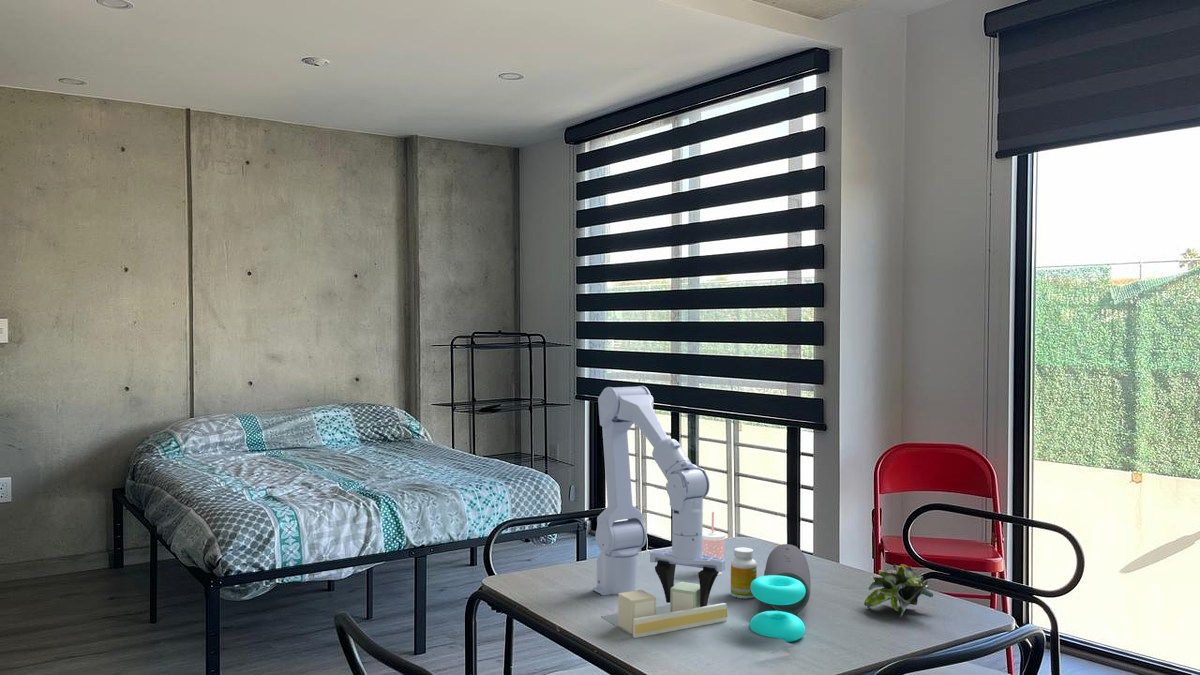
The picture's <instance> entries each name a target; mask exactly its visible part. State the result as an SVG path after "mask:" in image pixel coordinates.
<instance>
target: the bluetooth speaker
mask: <svg viewBox="0 0 1200 675" xmlns="http://www.w3.org/2000/svg"><path fill="white" fill-rule="evenodd" d="M768 575H779V576H787V577H791V578H794V579H797V580H799V581H800V582H802V583H803V585H804V586H805V589H806V592H805V596H804V597H803V598H802V599H801V600H800V601H799V602H797V603H794V604H790V605H773V604H769V605H770V606H771V608H773V609H774V611H783V612H787V613H791V614H793V615H796V614H797V613H799V612H802V610H803V609H804V608H806V606H807V605H808V603H809V600H810V597H811V573H810V568H809V563H808V559H807V557H806V556H805V554H804V552H803V551H802V550H801V549H800V548H798V546H796V545H793V544H788V543H784V544H779V545H777V546H775V547H774V548H773V549H772V550H771V551H770V553H769V555H768V557H767V560H766V564H765V569H764V574H763V576H768Z"/></svg>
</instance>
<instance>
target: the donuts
mask: <svg viewBox="0 0 1200 675" xmlns="http://www.w3.org/2000/svg"><path fill="white" fill-rule="evenodd" d="M750 589H751V592H752V594H753V596H754V598H755V599H757V600H759V601H761V602H762V603H764V604H769V605H770V604H773V605H790V604H794V603H797V602H799V601H800V600H801V599H802V598H803V597H804V596H805V592H806V589H805V586H804V585H803V583H802V582H800V581H799V580H797V579H794V578H791V577H787V576H779V575H768V576H764V575H761V576H758V577H756V579H754V580H753V581H752V583H751V586H750ZM749 628H750V629H751V631H752V632H754V633H756V634H757V635H761V636H764V637H770V638H775V639H780V640H782V641H784V642H786V643H790V642H796V641H798V640H800V639H802V638H803V636H804V635H805V632H806V626H805V623H804V622H803V620H802V619H801V618H800V617H798V616H797V615H796V614H791V613H787V612H783V611H776V610H765V611H762V612H760V613H759V612H758V613H757V614H755V615H754V616H753V617H752V618H751V620H750V622H749Z"/></svg>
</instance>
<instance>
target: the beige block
mask: <svg viewBox="0 0 1200 675" xmlns="http://www.w3.org/2000/svg"><path fill="white" fill-rule="evenodd" d="M656 601H657V597H656V596H655V595H653V594H651V593H649V592H647V591H645V590H643V589H639V590H637V591H630V592H624V593H619V594H618V609H617V610H618V613H617V614H618V626H620V627H621V628H623V629H625V630H626V631H628V632H629V633H631V634H633V619H634V618H640V617H646V616H652V615H656V607H657V605H656V604H657V603H656Z"/></svg>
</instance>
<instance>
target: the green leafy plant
mask: <svg viewBox="0 0 1200 675" xmlns="http://www.w3.org/2000/svg"><path fill="white" fill-rule="evenodd" d="M892 567H893V570H891V569H890V568H889V569H888V568H886V570H881V569H879V570H878V574H879V577H878V576H872V579H873V580H874V581H872V582H871V584H870V585H869V586H868V591H871V590H873V589H875V590H873V591H872V592H871V593H870V594H869V595H868V596H867V597H866V598H865V600H864V602H863V605H864V606H865V607H867V609H870V608H871V607H872V608H873V607H875V606H877V605H880V604H882V603H884V602H886V601H889V600H890V604H891V607H892V609H894V610H895V611H896V612H899V607H900V608H901V613H900V616H899V619H900V618H901V619H902V617H903V616H904V615H903V614H904V613H905V611H906V609H907V607H908V606H910V605H912V606H917V605H918V600H919V597H920V596H921V595H923V596H926V597H929V598H933V597H934V593H933V592H931V591H930V590H928V589H929V588H930V586H929V585H928V581H929V579H926V580H925V579H923V578H924V576H923V575H921V574H920V575H919V573H918V572H916V571H914V572H913V570H914V568H913V567H912V566H908V565H906V564H902V563H901V564H900V565H897V564H893V565H892ZM876 588H879V589H876ZM898 602H899V605H898Z"/></svg>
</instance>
